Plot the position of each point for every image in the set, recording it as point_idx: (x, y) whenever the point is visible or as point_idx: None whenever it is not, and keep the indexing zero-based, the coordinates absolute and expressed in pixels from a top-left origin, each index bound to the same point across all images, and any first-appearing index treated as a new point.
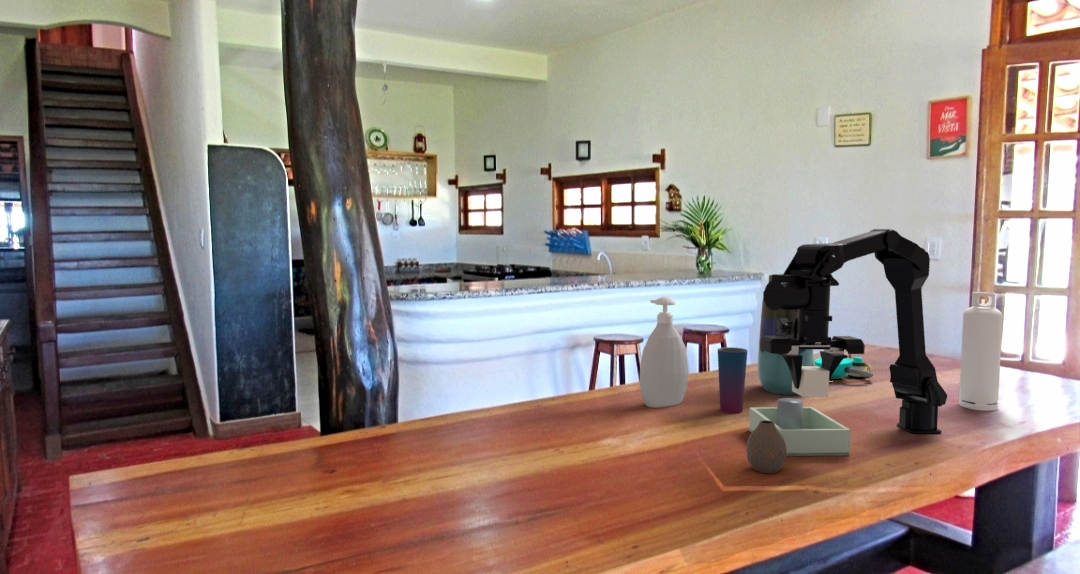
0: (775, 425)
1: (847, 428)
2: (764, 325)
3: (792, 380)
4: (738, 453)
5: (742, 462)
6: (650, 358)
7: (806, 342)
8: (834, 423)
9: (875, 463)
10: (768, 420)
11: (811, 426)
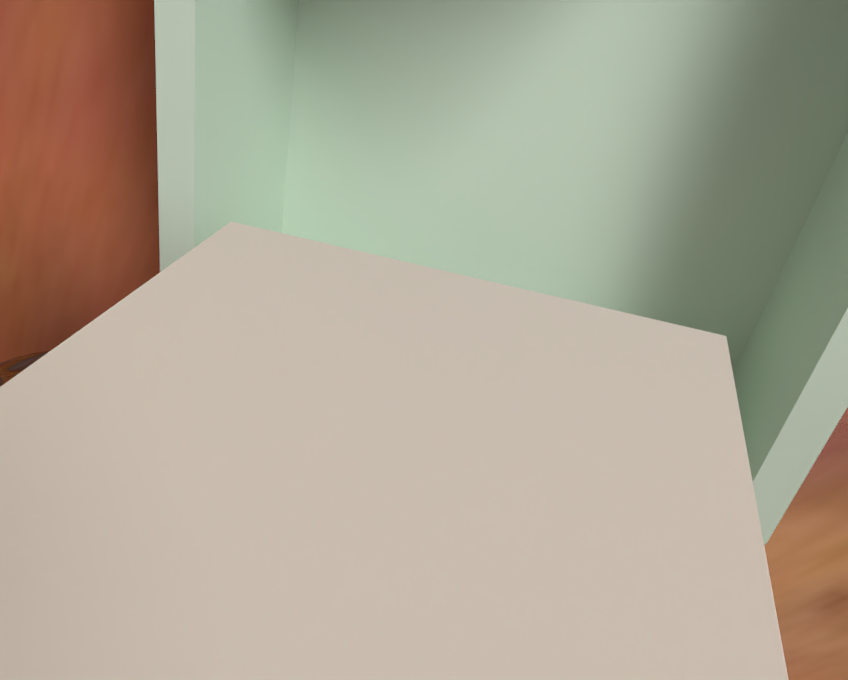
0: (178, 210)
1: (777, 509)
2: None
3: (102, 328)
4: (35, 126)
5: (28, 281)
6: None
7: None
8: (838, 317)
9: (775, 561)
10: (172, 20)
11: None
